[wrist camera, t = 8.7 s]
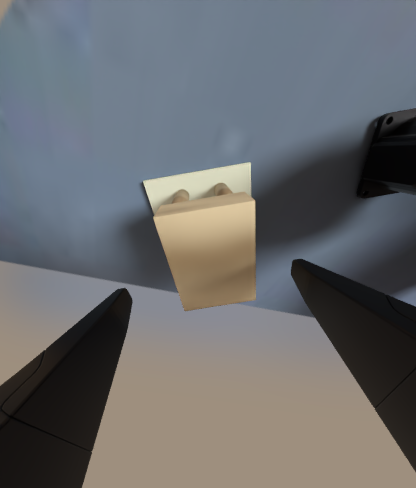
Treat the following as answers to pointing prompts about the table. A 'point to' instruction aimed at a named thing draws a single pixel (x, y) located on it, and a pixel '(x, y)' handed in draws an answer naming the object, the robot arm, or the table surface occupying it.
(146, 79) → the table surface
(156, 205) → the mat
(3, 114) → the table surface
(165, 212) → the tan block with pegs
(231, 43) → the table surface
